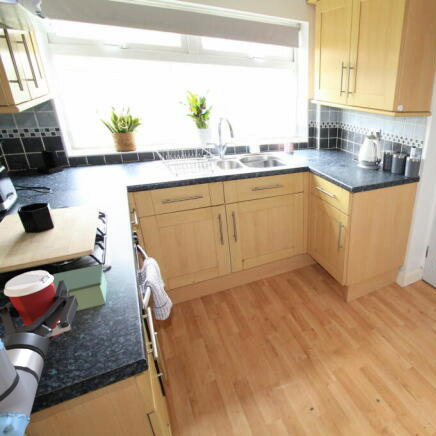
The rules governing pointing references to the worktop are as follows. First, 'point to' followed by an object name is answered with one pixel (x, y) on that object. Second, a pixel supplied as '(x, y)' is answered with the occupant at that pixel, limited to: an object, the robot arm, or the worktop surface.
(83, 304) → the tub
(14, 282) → the paper cup
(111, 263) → the worktop surface
